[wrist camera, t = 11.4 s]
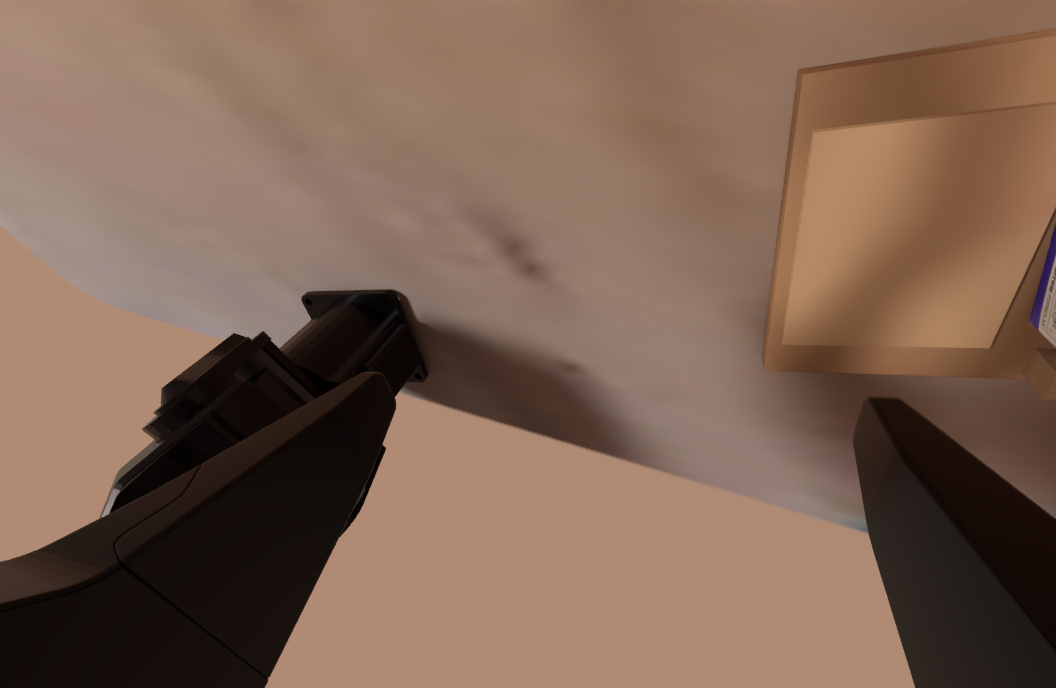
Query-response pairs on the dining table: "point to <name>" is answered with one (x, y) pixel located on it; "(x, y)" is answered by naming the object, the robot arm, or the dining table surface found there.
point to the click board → (919, 215)
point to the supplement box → (1046, 296)
